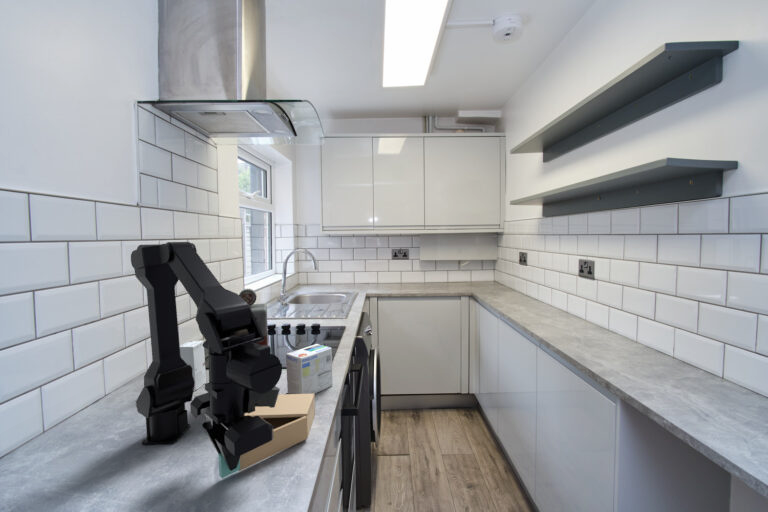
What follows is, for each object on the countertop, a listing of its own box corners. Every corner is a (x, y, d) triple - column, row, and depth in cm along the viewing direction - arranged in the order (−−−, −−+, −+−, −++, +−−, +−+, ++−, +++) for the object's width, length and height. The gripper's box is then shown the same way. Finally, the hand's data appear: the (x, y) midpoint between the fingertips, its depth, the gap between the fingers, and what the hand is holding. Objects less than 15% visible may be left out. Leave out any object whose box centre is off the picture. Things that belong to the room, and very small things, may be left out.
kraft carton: (242, 439, 69) (241, 415, 69) (257, 416, 78) (257, 395, 78) (307, 437, 69) (306, 413, 69) (315, 414, 78) (314, 393, 78)
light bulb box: (317, 379, 98) (316, 342, 97) (333, 385, 94) (332, 347, 93) (286, 393, 90) (284, 352, 89) (301, 400, 85) (300, 358, 85)
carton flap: (221, 480, 57) (220, 455, 57) (219, 477, 58) (218, 451, 57) (308, 439, 68) (307, 417, 68) (305, 436, 69) (304, 415, 69)
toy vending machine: (229, 413, 80) (224, 294, 78) (234, 393, 90) (229, 287, 89) (269, 406, 82) (265, 291, 81) (269, 387, 93) (266, 285, 92)
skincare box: (196, 391, 92) (193, 346, 91) (178, 391, 91) (176, 347, 91) (207, 381, 98) (205, 340, 97) (191, 382, 98) (189, 340, 97)
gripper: (301, 377, 57) (302, 467, 58) (248, 351, 69) (249, 425, 70) (235, 401, 48) (237, 506, 49) (188, 367, 61) (190, 451, 62)
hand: (230, 466), depth 58 cm, fingers closed
